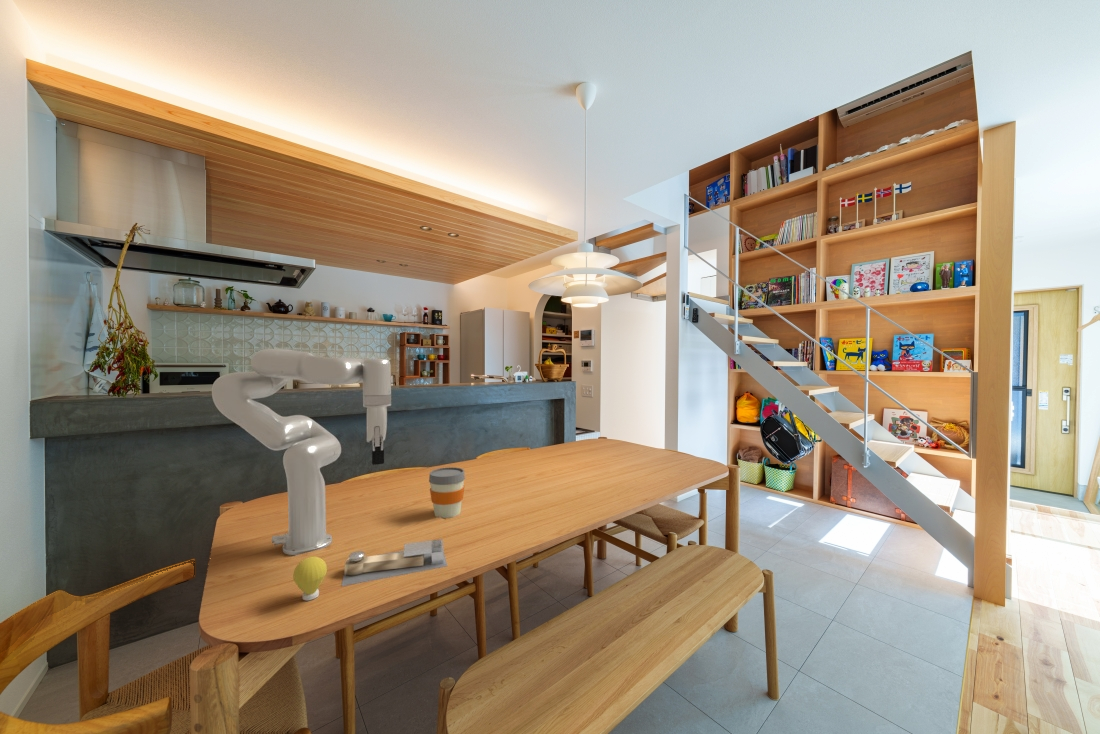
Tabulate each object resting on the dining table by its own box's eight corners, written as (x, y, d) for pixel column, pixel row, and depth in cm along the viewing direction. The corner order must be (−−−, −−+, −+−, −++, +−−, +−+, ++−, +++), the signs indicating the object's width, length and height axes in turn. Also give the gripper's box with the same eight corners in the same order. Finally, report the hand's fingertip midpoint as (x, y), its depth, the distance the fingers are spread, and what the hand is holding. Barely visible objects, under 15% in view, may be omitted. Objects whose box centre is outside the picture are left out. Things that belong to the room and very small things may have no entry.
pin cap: (348, 564, 102) (348, 559, 102) (349, 557, 105) (349, 552, 105) (364, 561, 103) (364, 556, 103) (364, 555, 106) (364, 550, 106)
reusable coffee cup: (421, 516, 142) (421, 474, 142) (446, 504, 154) (445, 465, 153) (449, 522, 137) (448, 478, 136) (472, 510, 148) (472, 469, 147)
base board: (341, 590, 97) (341, 586, 97) (347, 563, 110) (347, 560, 110) (447, 569, 106) (447, 566, 106) (441, 547, 119) (441, 544, 119)
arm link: (343, 576, 101) (343, 567, 101) (348, 566, 106) (348, 557, 106) (423, 566, 105) (423, 557, 105) (424, 557, 110) (424, 548, 110)
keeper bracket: (403, 569, 105) (403, 552, 105) (404, 559, 110) (404, 543, 110) (443, 563, 108) (443, 546, 108) (442, 554, 112) (442, 538, 112)
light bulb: (333, 592, 96) (332, 550, 96) (317, 609, 90) (317, 565, 89) (304, 593, 96) (303, 551, 96) (287, 610, 89) (286, 566, 89)
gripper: (364, 399, 123) (365, 459, 123) (361, 404, 109) (362, 471, 110) (391, 398, 126) (392, 456, 126) (391, 403, 112) (392, 468, 112)
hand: (378, 463), depth 118 cm, fingers closed
